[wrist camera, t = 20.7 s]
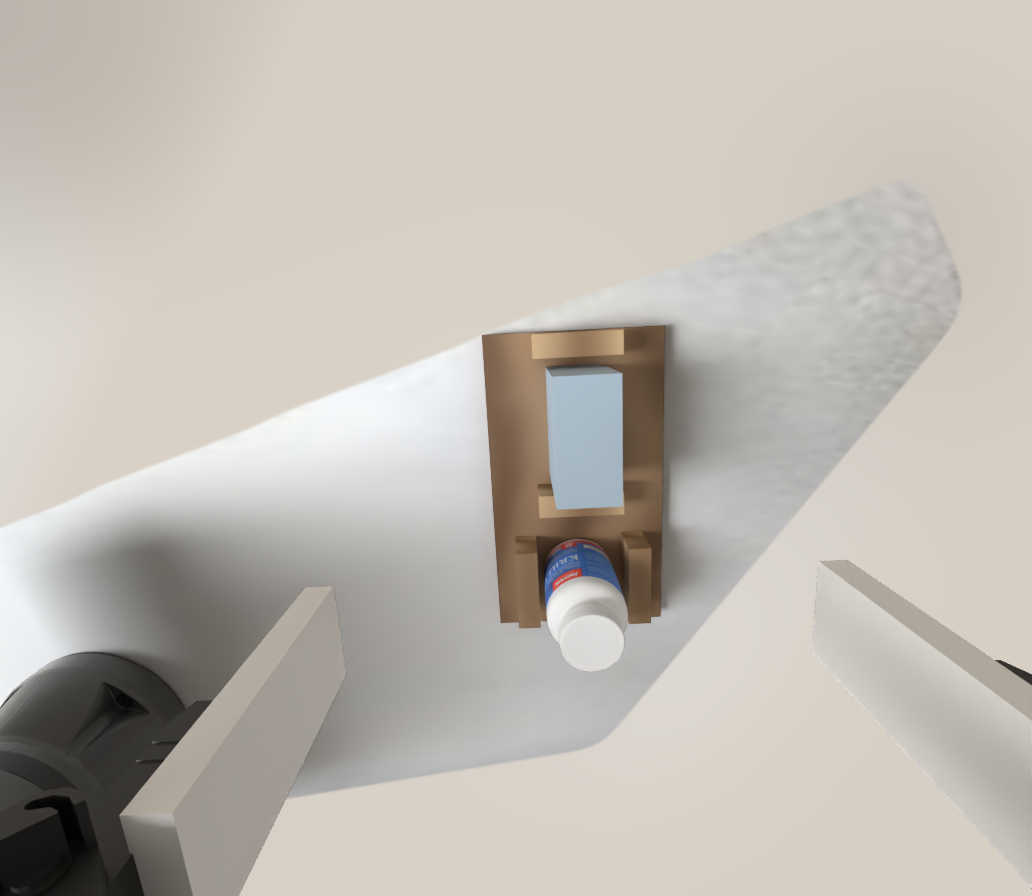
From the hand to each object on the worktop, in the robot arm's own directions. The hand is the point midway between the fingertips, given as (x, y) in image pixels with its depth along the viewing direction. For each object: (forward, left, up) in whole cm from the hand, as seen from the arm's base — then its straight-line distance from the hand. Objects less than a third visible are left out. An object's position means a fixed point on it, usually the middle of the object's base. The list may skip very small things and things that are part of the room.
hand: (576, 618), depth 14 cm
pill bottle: (+2, -11, -25) cm, 27 cm away
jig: (+3, -4, -26) cm, 26 cm away
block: (+2, +1, -25) cm, 25 cm away
